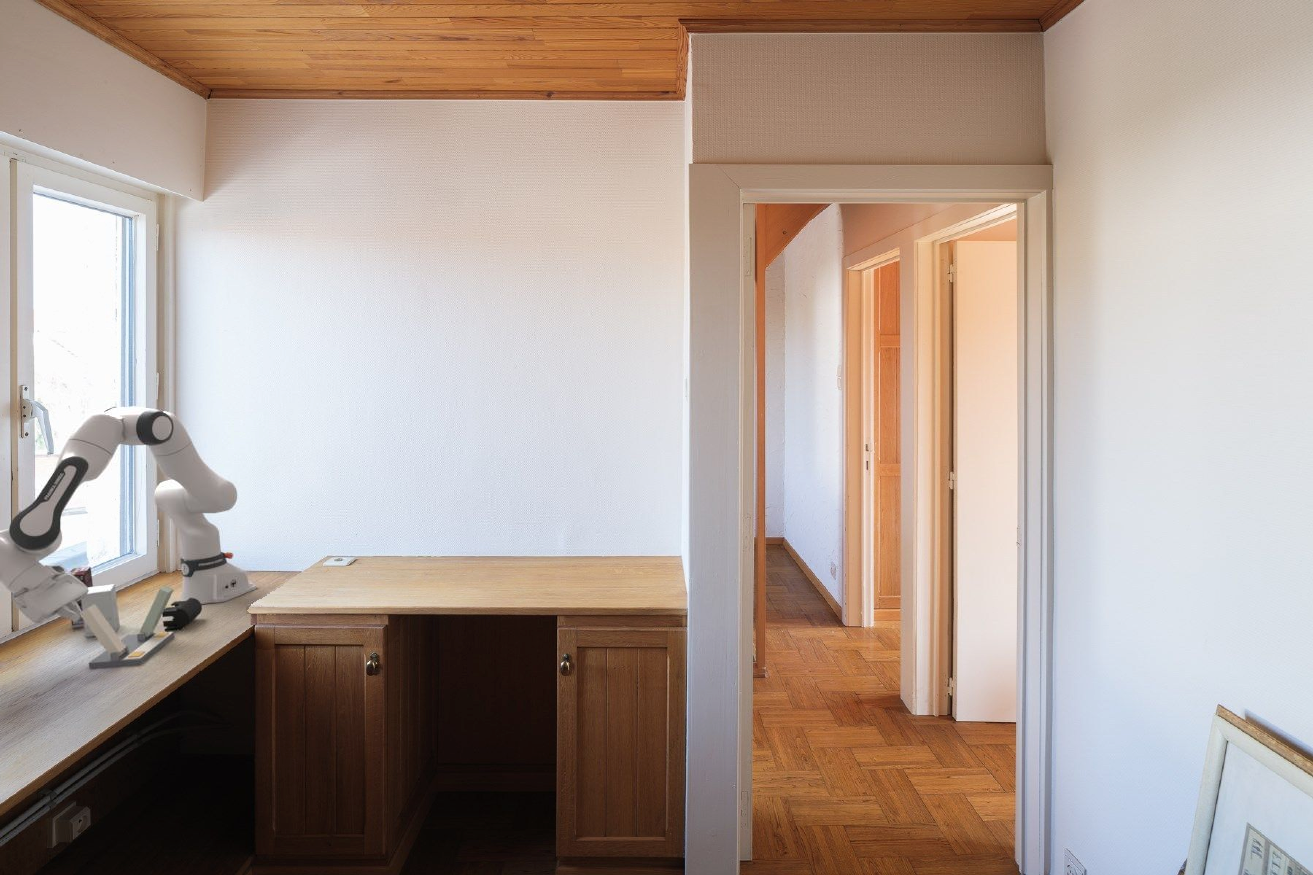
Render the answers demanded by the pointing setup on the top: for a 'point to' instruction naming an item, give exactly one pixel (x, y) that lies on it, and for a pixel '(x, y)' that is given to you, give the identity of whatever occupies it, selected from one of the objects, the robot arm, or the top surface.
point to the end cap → (181, 614)
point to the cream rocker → (103, 630)
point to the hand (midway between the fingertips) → (80, 618)
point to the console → (133, 650)
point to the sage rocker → (156, 610)
